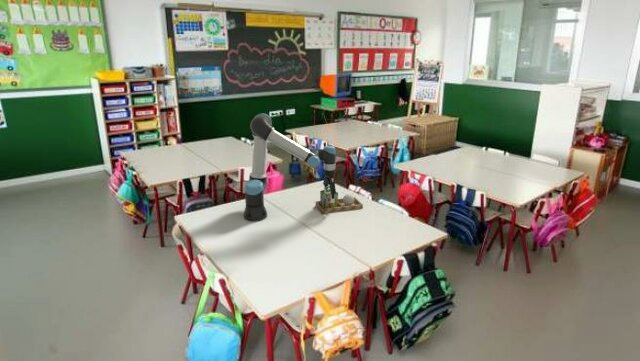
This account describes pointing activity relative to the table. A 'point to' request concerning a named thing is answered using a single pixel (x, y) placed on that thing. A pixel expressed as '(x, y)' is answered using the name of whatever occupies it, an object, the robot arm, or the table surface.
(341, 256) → the table surface
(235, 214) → the table surface
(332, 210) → the tray
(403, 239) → the table surface
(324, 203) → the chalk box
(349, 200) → the grey ball
